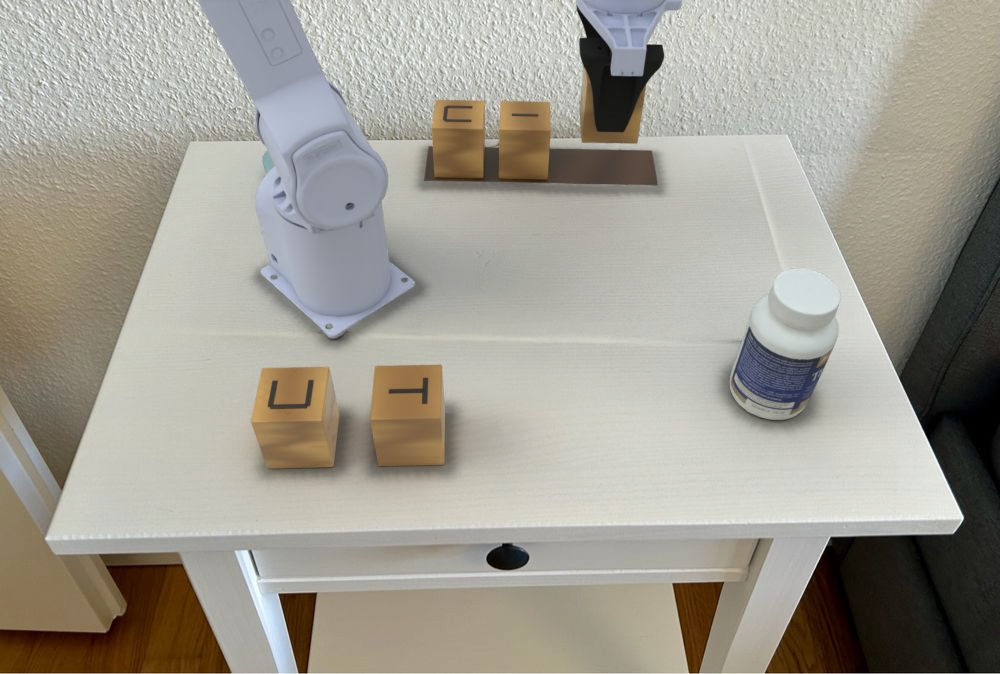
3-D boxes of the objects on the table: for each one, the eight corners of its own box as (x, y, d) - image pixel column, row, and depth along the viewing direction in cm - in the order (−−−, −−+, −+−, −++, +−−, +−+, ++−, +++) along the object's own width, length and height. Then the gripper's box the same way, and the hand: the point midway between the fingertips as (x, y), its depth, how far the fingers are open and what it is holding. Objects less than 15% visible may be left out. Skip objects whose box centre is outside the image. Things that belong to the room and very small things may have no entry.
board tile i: (498, 178, 72) (499, 128, 69) (499, 149, 75) (500, 100, 72) (547, 179, 72) (550, 129, 69) (546, 150, 75) (549, 101, 72)
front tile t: (378, 466, 54) (369, 419, 50) (382, 413, 56) (374, 364, 53) (444, 465, 54) (440, 418, 50) (445, 412, 57) (442, 363, 53)
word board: (424, 185, 73) (423, 180, 72) (428, 151, 76) (428, 145, 76) (656, 190, 73) (658, 185, 72) (651, 155, 76) (652, 150, 75)
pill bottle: (809, 429, 56) (857, 329, 49) (727, 415, 57) (762, 315, 49) (806, 367, 59) (850, 266, 52) (728, 355, 60) (761, 254, 53)
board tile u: (434, 177, 73) (431, 127, 69) (438, 148, 75) (435, 98, 72) (483, 178, 72) (483, 128, 69) (485, 149, 75) (484, 99, 72)
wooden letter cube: (581, 142, 63) (586, 82, 60) (579, 111, 66) (584, 52, 62) (637, 144, 63) (646, 84, 60) (633, 112, 66) (641, 53, 62)
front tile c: (267, 469, 53) (250, 421, 50) (276, 415, 56) (261, 366, 52) (333, 467, 54) (322, 420, 50) (340, 414, 56) (329, 365, 53)
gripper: (709, -21, 49) (672, 171, 59) (680, -118, 58) (652, 61, 69) (586, -23, 49) (570, 169, 59) (577, -119, 58) (565, 60, 69)
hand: (608, 111), depth 64 cm, fingers closed on wooden letter cube, 4 cm apart
